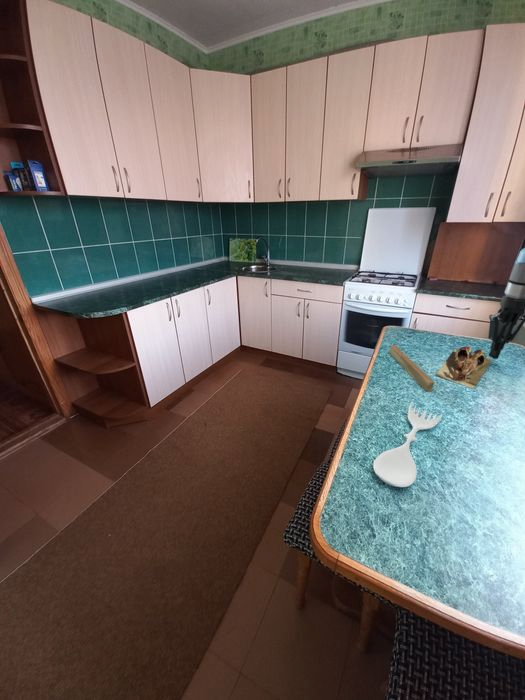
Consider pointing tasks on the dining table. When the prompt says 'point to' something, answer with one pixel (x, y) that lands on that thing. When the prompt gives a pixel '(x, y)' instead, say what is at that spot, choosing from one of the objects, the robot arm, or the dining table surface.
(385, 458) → the spoon
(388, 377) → the dining table surface
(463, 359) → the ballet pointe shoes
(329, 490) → the dining table surface
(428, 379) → the light brown wooden bar
